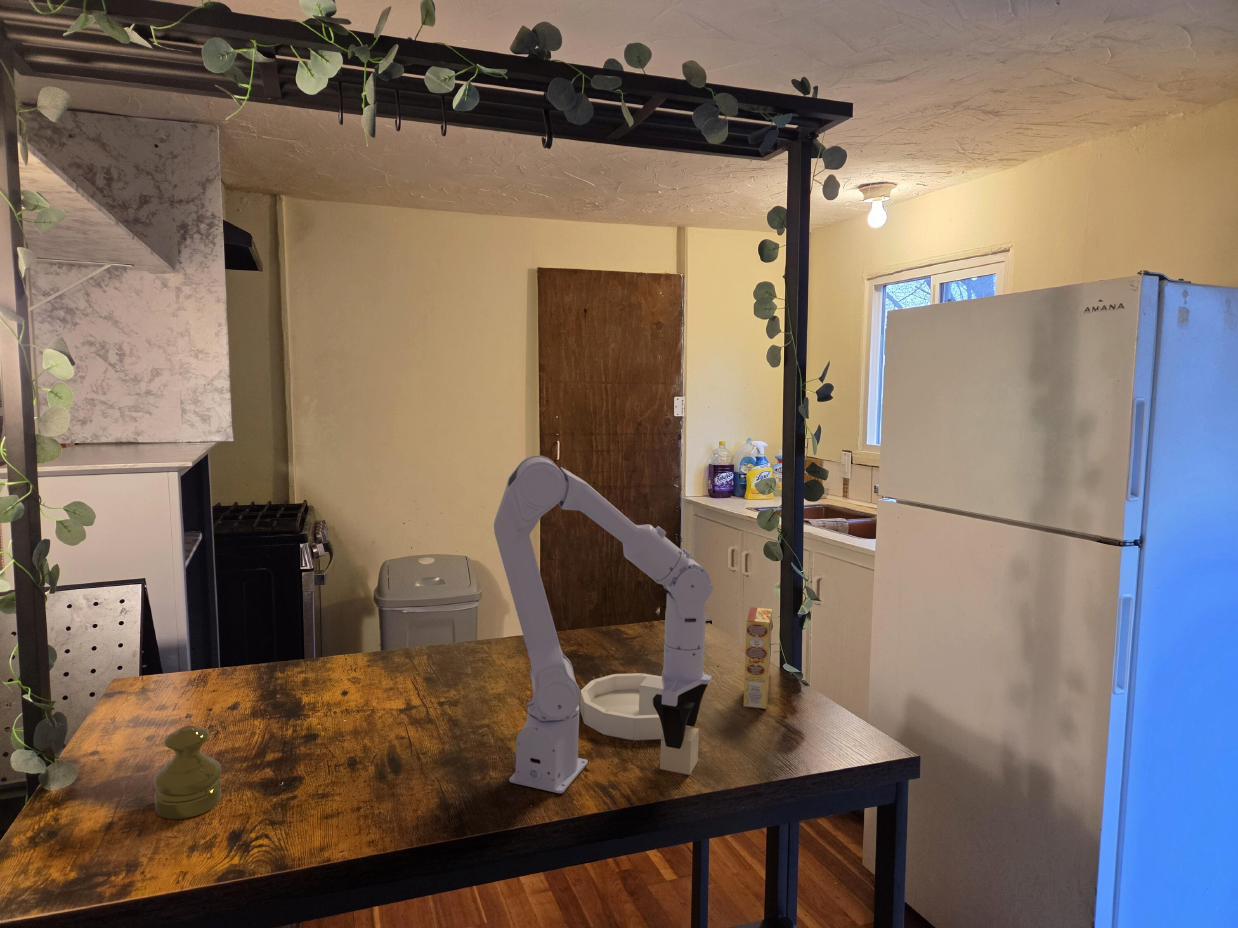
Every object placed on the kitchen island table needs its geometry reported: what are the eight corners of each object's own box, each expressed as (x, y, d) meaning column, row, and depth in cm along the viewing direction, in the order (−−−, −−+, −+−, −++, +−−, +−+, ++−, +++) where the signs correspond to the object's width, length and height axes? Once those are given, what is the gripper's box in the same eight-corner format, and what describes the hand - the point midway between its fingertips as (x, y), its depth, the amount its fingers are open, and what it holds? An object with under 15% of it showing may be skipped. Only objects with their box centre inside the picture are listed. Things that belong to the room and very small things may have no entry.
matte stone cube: (664, 719, 126) (665, 689, 125) (638, 714, 127) (639, 684, 127) (672, 709, 130) (673, 680, 129) (647, 704, 131) (648, 675, 131)
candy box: (766, 710, 133) (771, 622, 132) (741, 707, 134) (746, 620, 133) (768, 690, 142) (773, 608, 140) (745, 688, 143) (749, 606, 141)
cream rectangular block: (689, 775, 110) (691, 741, 110) (659, 769, 112) (661, 735, 111) (697, 761, 114) (699, 728, 114) (668, 755, 116) (669, 723, 115)
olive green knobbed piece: (142, 821, 94) (140, 741, 93) (171, 789, 102) (170, 715, 101) (207, 820, 95) (205, 741, 94) (231, 788, 102) (230, 715, 101)
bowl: (676, 748, 118) (677, 726, 118) (563, 726, 124) (564, 705, 124) (705, 703, 135) (706, 683, 135) (605, 686, 142) (605, 667, 141)
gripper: (699, 664, 103) (695, 762, 104) (723, 632, 117) (719, 720, 118) (648, 656, 105) (645, 753, 107) (677, 626, 119) (674, 712, 120)
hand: (680, 735), depth 113 cm, fingers open, 7 cm apart
